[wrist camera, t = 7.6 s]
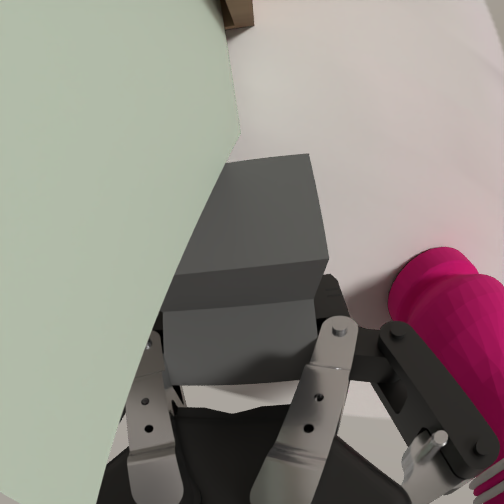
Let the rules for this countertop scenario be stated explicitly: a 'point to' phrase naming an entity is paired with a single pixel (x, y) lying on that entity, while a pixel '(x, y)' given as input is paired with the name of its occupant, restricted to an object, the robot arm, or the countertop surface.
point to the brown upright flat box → (237, 13)
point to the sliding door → (95, 214)
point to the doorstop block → (248, 278)
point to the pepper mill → (460, 337)
